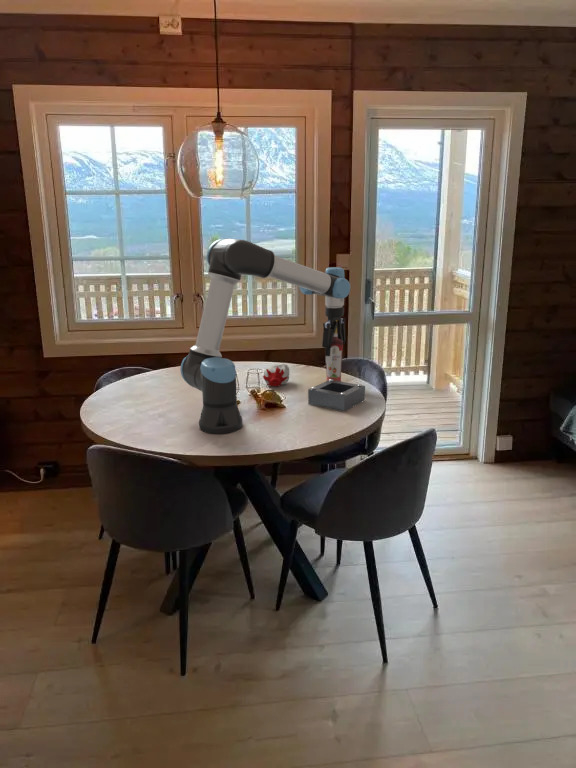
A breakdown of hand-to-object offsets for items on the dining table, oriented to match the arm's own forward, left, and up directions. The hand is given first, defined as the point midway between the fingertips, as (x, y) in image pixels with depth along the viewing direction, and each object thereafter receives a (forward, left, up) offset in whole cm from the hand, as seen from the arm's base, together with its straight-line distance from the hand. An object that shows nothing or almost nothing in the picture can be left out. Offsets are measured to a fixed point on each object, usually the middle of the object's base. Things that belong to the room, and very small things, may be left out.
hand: (333, 361), depth 244 cm
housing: (-16, -11, -12) cm, 23 cm away
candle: (-11, +22, -12) cm, 27 cm away
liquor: (0, 0, -11) cm, 11 cm away
